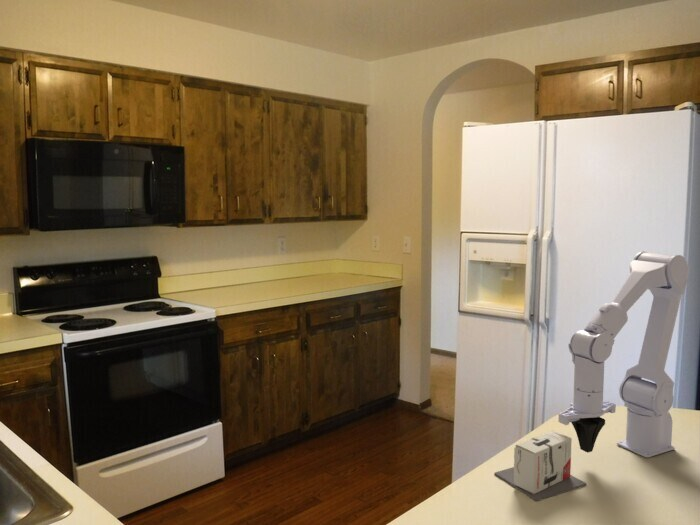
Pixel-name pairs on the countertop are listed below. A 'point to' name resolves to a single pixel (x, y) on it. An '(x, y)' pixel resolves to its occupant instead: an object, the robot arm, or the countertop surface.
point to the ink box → (542, 461)
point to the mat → (546, 493)
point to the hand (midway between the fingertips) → (586, 450)
